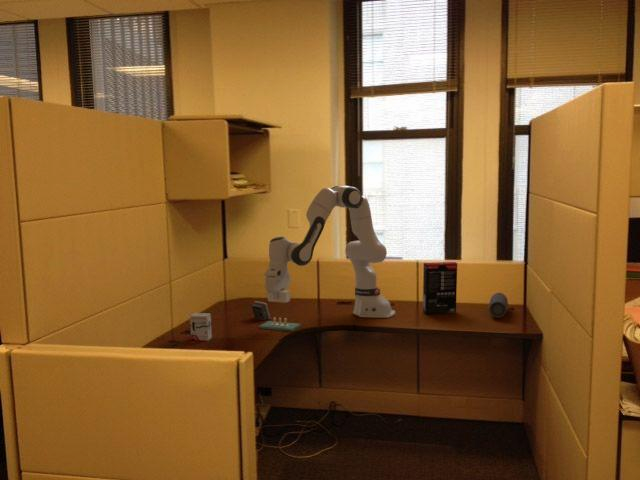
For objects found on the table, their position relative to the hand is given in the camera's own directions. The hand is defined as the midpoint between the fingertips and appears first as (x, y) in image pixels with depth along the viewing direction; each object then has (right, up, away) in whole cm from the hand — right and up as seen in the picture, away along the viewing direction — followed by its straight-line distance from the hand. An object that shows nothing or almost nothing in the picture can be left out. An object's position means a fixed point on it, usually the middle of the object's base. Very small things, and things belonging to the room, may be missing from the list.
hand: (278, 297), depth 283 cm
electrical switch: (-11, -13, +19) cm, 26 cm away
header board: (0, -15, +2) cm, 15 cm away
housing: (0, -2, 0) cm, 2 cm away
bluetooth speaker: (+114, -11, +17) cm, 116 cm away
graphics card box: (+84, -11, +24) cm, 88 cm away
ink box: (-35, -18, -16) cm, 42 cm away
